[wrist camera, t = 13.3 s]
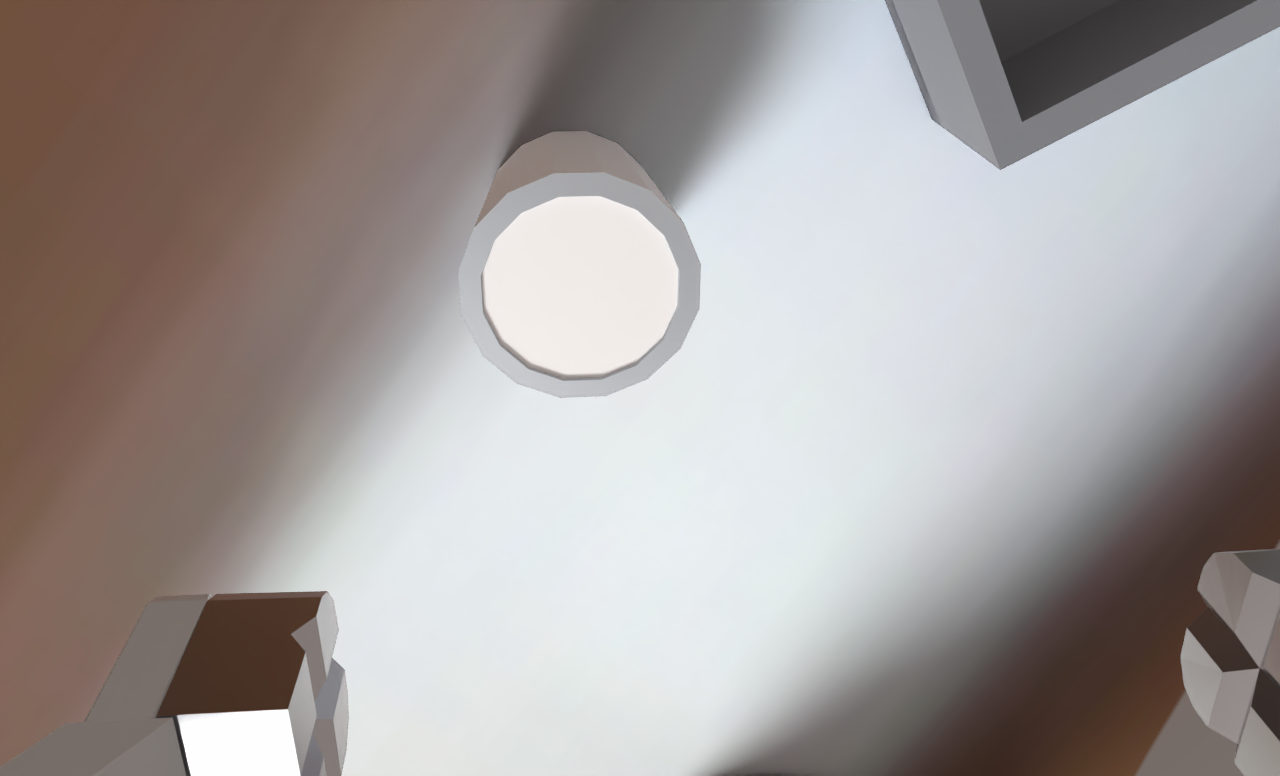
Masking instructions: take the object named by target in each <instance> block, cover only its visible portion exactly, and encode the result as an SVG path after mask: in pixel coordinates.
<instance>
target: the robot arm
mask: <svg viewBox="0 0 1280 776" xmlns="http://www.w3.org/2000/svg"><path fill="white" fill-rule="evenodd" d="M1197 590H1198V592H1199V593H1200V595H1201V597H1202V599H1203V600H1204V602H1205V604H1206V605H1207V608H1206V609H1205V610H1204V611H1203V612H1202V613H1201V614H1200V615H1199V616H1198V617H1197V618H1196V619H1195V620H1194V621H1193V622H1192V623H1191V624H1190V625H1189V626H1188V627H1187V628H1186V633H1185V638H1184V642H1183V647H1182V652H1181V656H1180V658H1181V665H1182V673H1183V681H1184V686H1185V689H1186V691H1187V694H1188V696H1189V698H1190V701H1191V703H1192V706H1193V707H1194V709H1195V710H1196V712H1197V713H1198V714H1199V716H1200V717H1201V718H1202V720H1203V721H1204V722H1205V724H1206V725H1207V727H1209V728H1210V729H1212V730H1214V731H1216V732H1218V733H1219V734H1221V735H1223V736H1224V737H1226V738H1228V739H1230V740H1231V741H1233V742H1235V743H1237V748H1236V755H1235V762H1234V763H1235V764H1236V765H1237V767H1238V768H1239V769H1240V771H1241V772H1242V773H1243V775H1244V776H1280V549H1268V550H1250V551H1232V552H1214V553H1213V555H1212V556H1211V557H1210V559H1209V560H1208V561H1207V563H1206V564H1205V565H1204V566H1203V570H1202V573H1201V577H1200V580H1199V584H1198V587H1197ZM338 631H339V628H338V623H337V617H336V611H335V606H334V600H333V598H332V597H331V595H330V594H329V593H328V591H321V592H280V593H239V594H216V595H215V596H213V595H210V594H204V595H182V596H160V597H157V598H155V599H154V600H152V601H150V602H149V603H148V604H147V605H146V606H145V608H144V610H143V612H142V613H141V615H140V617H139V619H138V621H137V623H136V625H135V627H134V629H133V630H132V632H131V634H130V636H129V638H128V640H127V642H126V644H125V646H124V647H123V649H122V651H121V653H120V655H119V657H118V659H117V661H116V663H115V664H114V666H113V668H112V670H111V672H110V674H109V676H108V678H107V680H106V681H105V683H104V685H103V687H102V689H101V691H100V693H99V695H98V697H97V698H96V700H95V702H94V704H93V706H92V708H91V710H90V712H89V714H88V715H87V717H86V719H85V721H84V722H76V723H65V724H64V725H62V726H61V727H59V728H58V729H56V730H55V731H53V732H52V733H50V734H49V735H47V736H46V737H44V738H43V739H41V740H40V741H38V742H37V743H35V744H34V745H32V746H31V747H30V748H28V749H27V750H25V751H24V752H22V753H21V754H19V755H18V756H16V757H15V758H13V759H12V760H10V761H9V762H7V763H6V764H4V765H3V766H1V767H0V776H341V775H342V770H343V765H344V760H345V755H346V749H347V735H348V721H349V712H348V691H347V684H346V676H345V670H344V669H343V668H342V667H341V666H340V665H339V664H338V663H337V662H336V661H335V660H334V659H333V658H332V655H333V651H334V647H335V643H336V639H337V635H338Z"/></svg>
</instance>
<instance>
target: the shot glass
mask: <svg viewBox="0 0 1280 776" xmlns="http://www.w3.org/2000/svg"><path fill="white" fill-rule="evenodd" d="M700 272H701V264H700V261H699V259H698V257H697V254H696V252H695V249H694V247H693V244H692V242H691V239H690V237H689V235H688V232H687V230H686V227H685V225H684V222H683V221H682V220H681V218H680V217H679V216H678V214H677V213H676V212H675V210H674V209H673V208H672V206H671V205H670V204H669V202H668V201H667V200H666V198H665V197H664V196H663V194H662V193H661V192H660V190H659V189H658V188H657V186H656V185H655V184H654V182H653V181H652V180H651V178H650V177H649V176H648V174H647V173H646V172H645V170H644V169H643V168H642V166H641V165H640V164H639V163H638V162H637V161H636V160H635V159H634V158H632V157H631V156H630V155H629V154H628V153H627V152H626V151H625V150H624V149H623V148H622V147H621V146H620V145H619V144H618V143H616V142H613V141H611V140H608V139H606V138H603V137H601V136H598V135H596V134H593V133H590V132H588V131H556V132H550V133H548V134H546V135H543V136H541V137H539V138H537V139H534V140H532V141H530V142H527V143H525V144H523V145H521V146H520V147H519V148H518V149H517V150H516V151H515V152H514V153H513V154H512V156H511V157H510V158H509V159H508V160H507V161H506V162H505V163H504V164H503V165H502V166H501V167H500V168H499V169H498V172H497V174H496V177H495V179H494V181H493V184H492V186H491V189H490V191H489V193H488V196H487V198H486V201H485V203H484V205H483V208H482V210H481V213H480V215H479V217H478V220H477V222H476V225H475V227H474V230H473V232H472V235H471V238H470V240H469V243H468V246H467V248H466V251H465V254H464V257H463V259H462V262H461V265H460V267H459V270H458V277H459V291H460V304H461V316H462V318H463V320H464V322H465V324H466V326H467V328H468V329H469V331H470V333H471V335H472V337H473V339H474V341H475V343H476V344H477V346H478V348H479V350H480V352H481V354H482V355H483V356H484V357H485V358H486V359H487V360H489V361H490V362H491V363H492V364H494V365H495V366H496V367H497V368H498V369H500V370H501V371H502V372H503V373H505V374H506V375H507V376H508V377H509V378H511V379H512V380H513V381H514V382H516V383H517V384H520V385H523V386H526V387H529V388H532V389H535V390H538V391H541V392H544V393H547V394H550V395H553V396H556V397H560V398H566V397H593V396H607V395H609V394H612V393H614V392H617V391H619V390H622V389H624V388H627V387H629V386H632V385H634V384H636V383H639V382H641V381H644V380H646V379H648V378H649V377H650V376H651V375H652V374H654V373H655V372H656V371H657V370H658V369H659V368H660V367H661V366H662V365H663V364H664V363H665V362H667V361H668V360H669V359H670V358H671V357H672V356H673V355H674V354H675V353H676V352H677V351H678V350H679V349H681V346H682V344H683V342H684V340H685V338H686V336H687V334H688V332H689V329H690V327H691V325H692V323H693V321H694V319H695V317H696V315H697V312H698V310H699V302H700Z"/></svg>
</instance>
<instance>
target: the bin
mask: <svg viewBox="0 0 1280 776" xmlns="http://www.w3.org/2000/svg"><path fill="white" fill-rule="evenodd" d="M885 1H886V4H887V7H888V9H889V12H890V14H891V17H892V19H893V22H894V24H895V27H896V29H897V32H898V34H899V37H900V40H901V42H902V45H903V47H904V50H905V52H906V55H907V57H908V60H909V62H910V65H911V67H912V70H913V73H914V75H915V78H916V80H917V83H918V85H919V88H920V90H921V93H922V95H923V98H924V100H925V103H926V106H927V108H928V111H929V113H930V116H931V118H932V120H934V121H935V122H936V123H938V124H939V125H940V126H942V127H943V128H944V129H946V130H947V131H948V132H950V133H951V134H953V135H954V136H955V137H957V138H958V139H959V140H961V141H962V142H963V143H965V144H966V145H967V146H969V147H970V148H971V149H973V150H974V151H975V152H977V153H978V154H980V155H981V156H982V157H984V158H985V159H986V160H988V161H989V162H990V163H992V164H993V165H994V166H996V167H997V168H998V169H1000V170H1001V169H1003V168H1005V167H1007V166H1009V165H1011V164H1013V163H1015V162H1017V161H1019V160H1021V159H1023V158H1025V157H1026V156H1028V155H1030V154H1032V153H1034V152H1036V151H1038V150H1040V149H1042V148H1044V147H1046V146H1048V145H1050V144H1052V143H1054V142H1056V141H1058V140H1060V139H1062V138H1063V137H1065V136H1067V135H1069V134H1071V133H1073V132H1075V131H1077V130H1079V129H1081V128H1083V127H1085V126H1087V125H1089V124H1091V123H1093V122H1095V121H1097V120H1099V119H1100V118H1102V117H1104V116H1106V115H1108V114H1110V113H1112V112H1114V111H1116V110H1118V109H1120V108H1122V107H1124V106H1126V105H1128V104H1130V103H1132V102H1134V101H1136V100H1137V99H1139V98H1141V97H1143V96H1145V95H1147V94H1149V93H1151V92H1153V91H1155V90H1157V89H1159V88H1161V87H1163V86H1165V85H1167V84H1169V83H1171V82H1173V81H1174V80H1176V79H1178V78H1180V77H1182V76H1184V75H1186V74H1188V73H1190V72H1192V71H1194V70H1196V69H1198V68H1200V67H1202V66H1204V65H1206V64H1208V63H1210V62H1211V61H1213V60H1215V59H1217V58H1219V57H1221V56H1223V55H1225V54H1227V53H1229V52H1231V51H1233V50H1235V49H1237V48H1239V47H1241V46H1243V45H1245V44H1247V43H1248V42H1250V41H1252V40H1254V39H1256V38H1258V37H1260V36H1262V35H1264V34H1266V33H1268V32H1270V31H1272V30H1274V29H1276V28H1278V27H1280V0H885Z"/></svg>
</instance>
